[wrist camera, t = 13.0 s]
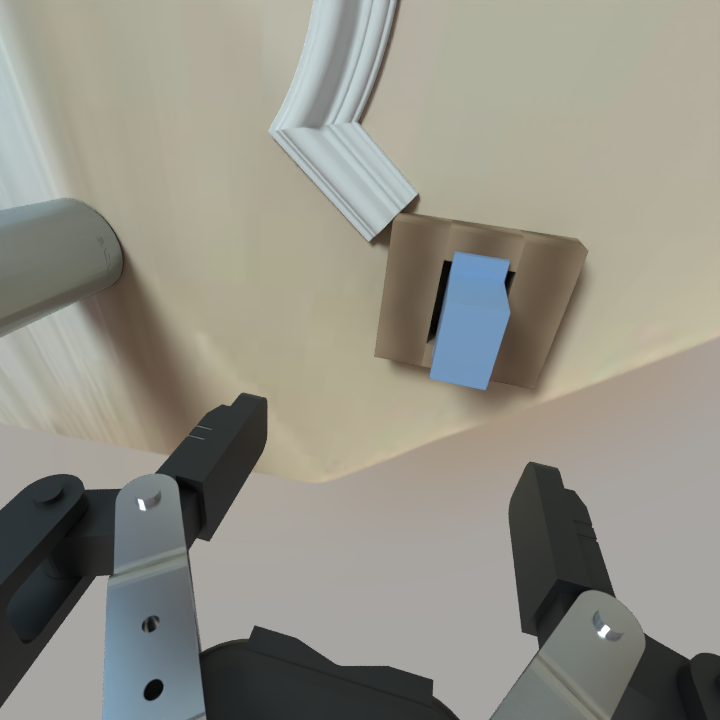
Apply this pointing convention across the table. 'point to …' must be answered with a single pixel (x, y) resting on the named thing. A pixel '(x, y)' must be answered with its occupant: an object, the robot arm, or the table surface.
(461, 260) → the blue block
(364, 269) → the table surface
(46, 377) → the table surface
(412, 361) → the tan square ring
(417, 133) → the table surface
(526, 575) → the robot arm
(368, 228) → the molding
